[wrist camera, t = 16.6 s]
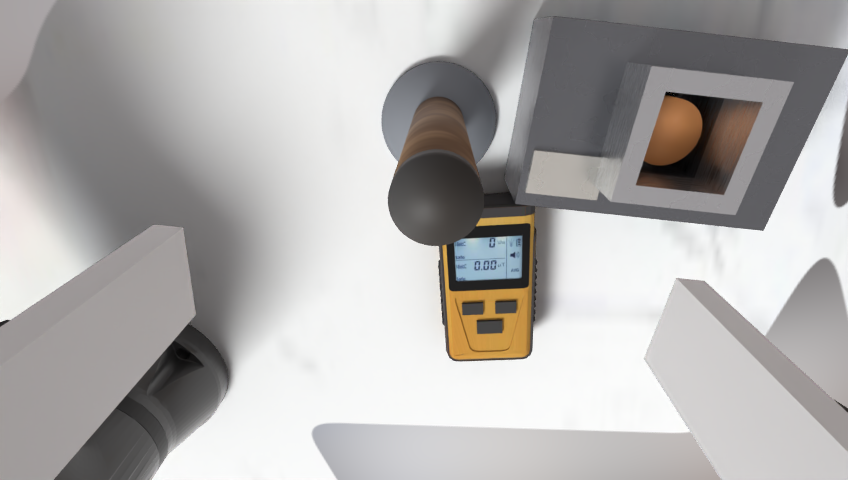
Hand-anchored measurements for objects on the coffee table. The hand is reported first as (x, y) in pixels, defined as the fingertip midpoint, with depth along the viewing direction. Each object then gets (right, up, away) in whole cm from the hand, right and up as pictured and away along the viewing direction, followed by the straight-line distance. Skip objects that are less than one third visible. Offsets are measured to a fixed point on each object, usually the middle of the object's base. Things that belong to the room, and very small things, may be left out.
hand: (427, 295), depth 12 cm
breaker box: (+16, +11, +22) cm, 30 cm away
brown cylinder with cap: (+1, +11, +23) cm, 25 cm away
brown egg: (+16, +11, +21) cm, 29 cm away
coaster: (+1, +11, +23) cm, 25 cm away
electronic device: (+6, -7, +33) cm, 34 cm away
